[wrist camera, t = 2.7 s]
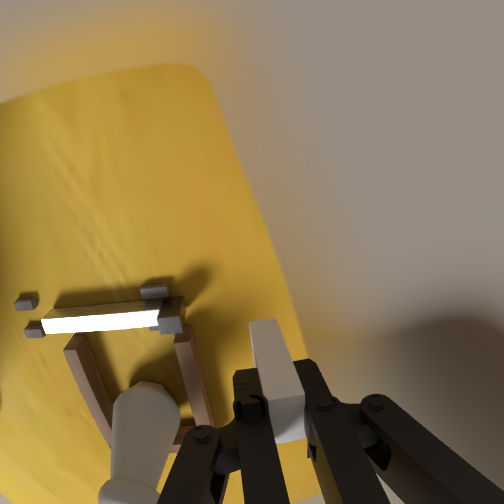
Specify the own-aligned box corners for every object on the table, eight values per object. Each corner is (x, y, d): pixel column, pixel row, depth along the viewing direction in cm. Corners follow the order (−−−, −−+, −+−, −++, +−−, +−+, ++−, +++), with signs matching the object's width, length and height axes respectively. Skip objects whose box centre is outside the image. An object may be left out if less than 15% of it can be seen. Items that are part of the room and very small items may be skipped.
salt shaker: (118, 366, 24) (76, 487, 12) (184, 377, 25) (175, 507, 13) (121, 413, 26) (93, 525, 13) (179, 423, 27) (174, 540, 14)
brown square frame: (78, 433, 26) (71, 449, 24) (18, 298, 22) (4, 310, 19) (216, 431, 27) (217, 449, 25) (183, 280, 23) (180, 293, 21)
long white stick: (55, 322, 22) (38, 342, 19) (51, 309, 22) (33, 327, 19) (186, 310, 23) (182, 332, 20) (183, 295, 23) (179, 316, 20)
